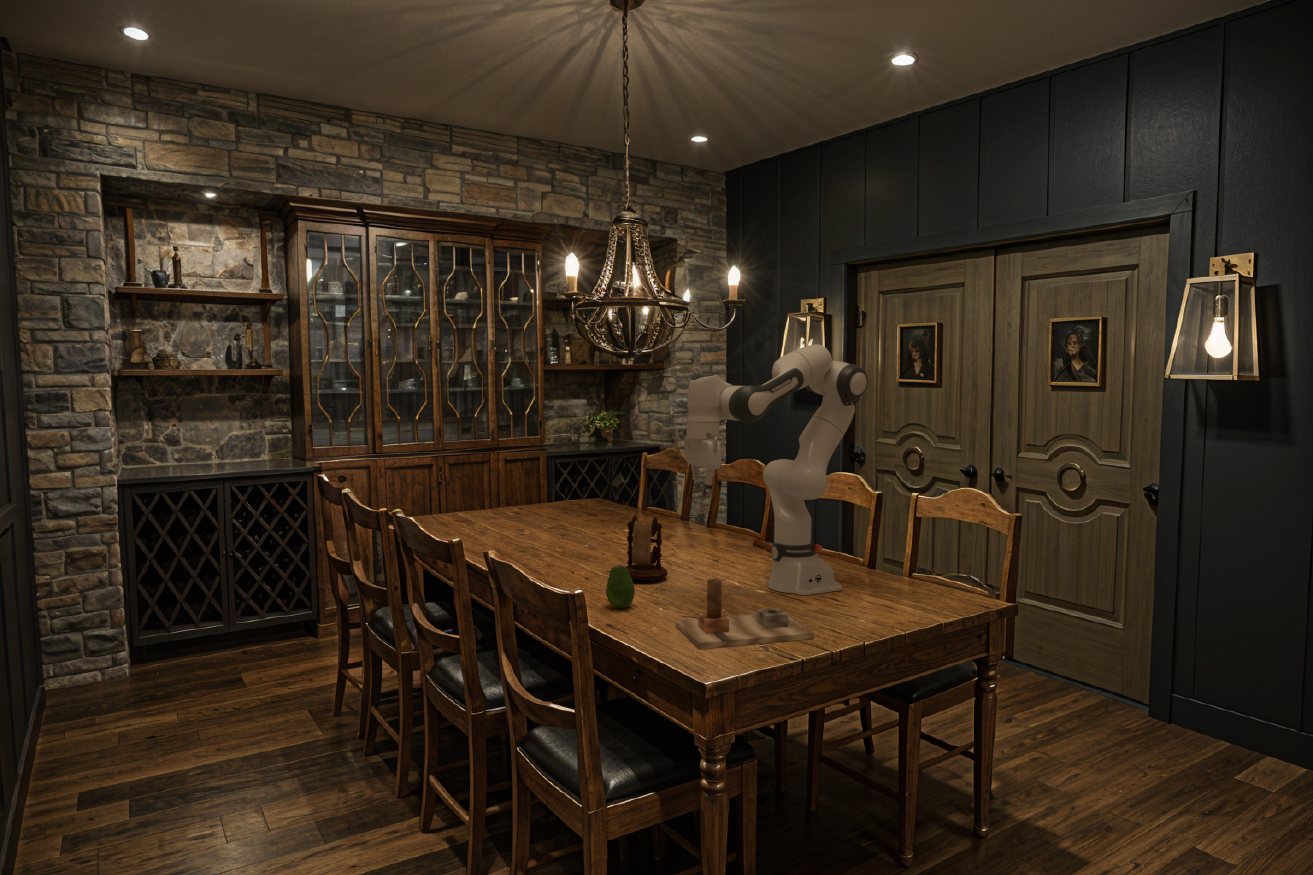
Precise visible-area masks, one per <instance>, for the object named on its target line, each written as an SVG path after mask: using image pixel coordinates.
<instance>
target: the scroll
mask: <svg viewBox="0 0 1313 875" xmlns="http://www.w3.org/2000/svg"><path fill="white" fill-rule="evenodd" d="M658 521H659V520H658V518H657V517H656V516H654V517H652V521H643V520H638V517H637V515H633V517H632V518H631V520H630V521H627V524H626V525H627V526H628V527H627V529H628V531H627V537H626V542H627V543H628V546H627V552H626V555H627V558H628V560H627V566H625V567H626V568H627V570H628V572H629V574H630V576H631V578H632V580H633V581H634V580H635V581H651V582H652V585H653V584H656V581H657V580H659V579H660V580H661V579H663V578H666V577H667V576H668V570H667V569H666V568H665V567H663V566H662V562H661V560H662V559H661V558H662V553H661V551H662V547H661V546H662V543H663V538H662V533H661V532H662V528H663V525H662V523H660V522H658ZM655 535H656V537H655ZM654 537H655V538H654ZM654 543H655V544H656V545H654V546H653V547H652V544H654ZM651 549H652V550H651Z"/></svg>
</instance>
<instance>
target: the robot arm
mask: <svg viewBox="0 0 1313 875" xmlns="http://www.w3.org/2000/svg"><path fill="white" fill-rule="evenodd" d="M771 377H772V378H771V379H770V380H768V381H766V382H765V383H763V384H761V385H732V383H728V382H727V381H724V380H723V379H722V378H721V377H719V375H718V374H717V373H714V372H705V373H698V374H695V375H693V376H692V377H691V378H690V380H689V383H688V389H687V409H688V416H687V420H686V426H685V427H684V428H683V430H682V436H683V437H684V441H683V442H684V443H683V444H684V445H683V446H684V448H683V449H684V457H685V461H686V462H687V463H689V464H690V467H691V472H692V479H693V481H700V480H701V473H700V467H701V468H704V469H705V470H704V471H705V477H703V483H704V484H705V485H707V486H708V485H709V486H710V485H712V484H713V477H714V475H715V470H720V469H721V467H722V448H721V443H720V441H719V440H718V439H719V438H720V419H722V420H729V421H735V422H737V421H739V422H743V423H747V424H753V423H756V422H759V420H761V419H762V418H763V417H764V416H765V415H766V413H767V412H769V410H770V409H771V408H772V407H774V406H775V405H776V404H778V403H779V402H781V401H782V400H785V399H786V398H788V397H789V396H791V395H793V394H795V392H797V391H799V390H801V389H804V388H805V389H806V390H807V391H809V392H811V393H813V394H818V395H820V396H823V397H822V401H821V405H820V406H819V407H818V408H817V409H816V411H815V412H814V413H813V415H812V417H811V419H810V420H809V421H808V423H807V425H806V426H805V428H804V430H803V431H802V433H801V434H800V436H798V437H799V438H798V443H799V448H798V449H799V450H798V453H797V455H796V458H794V460H792V459H786V458H780V459H776V460H772V461H770V462H768V463H767V465H766V466H765V467H764V469H763V473H762V479H763V482H764V484H765V486H766V487H767V489H768V492H769V495H770V500H771V504H772V509H773V516H774V517H773V518H774V526H773V527H774V528H773V529H774V534H773V536H774V537H773V538H774V539H773V541H772V547H773V548H772V553H771V554H772V566H771V572H770V577H769V580H768V582H767V583H768V584H767V587H768V588H769V589H770V590H773V591H777V592H780V593H781V592H782V593H786V594H788V593H789V594H794V595H795V594H796V595H801V596H808V595H809V596H811V595H816V594H824V593H830V592H838V591H842V590H843V586H842V584H841V583H840V582H838V581H836V580H835V573H834V570H833V568H832V567H831V565H830V564H828V563H827V562H826V561H825V560H823V559H822V558H821V557H820V556H818V554H817V553H816V552H819V553H820V552H822V551H823V546H822V545H820V544H818V543H817V544H815V543H814V542H812V517H811V514H810V512H809V511H808V508H807V506H806V503H805V501H810V500H812V501H813V500H816V499H817V500H818V499H819V498H821V497H822V496H823V495H825V492H827V489H828V477H827V469H828V465H829V462H830V459H831V458H832V456H833V454H834V452H835V450H836V449H837V447H838V446H839V443H841V440H842V439H843V438H844V436H845V434H846V432H847V430H848V429H849V426H850V424H851V423H852V420H853V418H854V415H855V412H856V406H855V404H857V403H858V402H859V401H860V399H861V397H862V396H863V395H864V394H865V392H866V390H867V388H868V385H869V382H868V379H869V378H868V374H867V372H866V370H865V369H864V368H862V367H861V366H858V365H857V364H855V363H848V362H845V361H841V360H840V361H838V360H833V358H832V355H831V353H830V351H829V350H828V348H827V347H826V346H824V345H822V344H819V343H818V344H810V345H806V346H803V347H799V348H796V349H795V350H793V351H790V352H789V353H785V354H784V355H782V356H780V357H779V358H778V359H777V360H775V361H774V363H773V366H772V369H771Z"/></svg>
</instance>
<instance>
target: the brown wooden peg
mask: <svg viewBox="0 0 1313 875" xmlns="http://www.w3.org/2000/svg"><path fill="white" fill-rule="evenodd" d="M706 586H707V587H706V590H707V591H706V613H707V617H708V618H713V619H717V618H721V613H722V599H723V598H722V594H723V593H722V592H723V590H722V589H723V588H722V587H723V581H722V580H721V579H717V578H711V579H710V578H708V579H707V583H706Z"/></svg>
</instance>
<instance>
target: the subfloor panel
mask: <svg viewBox="0 0 1313 875" xmlns="http://www.w3.org/2000/svg"><path fill="white" fill-rule="evenodd" d="M675 627H676V628H677V629H678V630H679V631H680V632H681V634H683V635H684V637H686V638H687V639H688V640H689V641H690V643H692V644H693V645H694V646H695V647H696V649H698V650H705V649H706V650H707V649H717V648H729V647H738V646H739V647H741V646H750V645H759V644H772V643H784V642H795V641H805V640H814V638H815V636H814V635H815V634H814V632H813V631H812V630H810V629H808V627H807V628H806V627H805V626H804V625H802V624H801V623H799V622H797V621H796V620H795V619H793V618H792V617H790V616H789V613H787V612H786V611H785V610H783V609H781V608H780V607H771V608H770V607H769V608H757V609H756V613H754V614H753V613H752V614H751V613H750V614H742V615H741V614H740V615H739V614H737V615H727V616H726V615H725V614H723V613H722V612H721V618H717V619H713V618H708V617H707V612H706V613H705V612H703V613H698V614H697V618H689V619H676V620H675Z"/></svg>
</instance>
